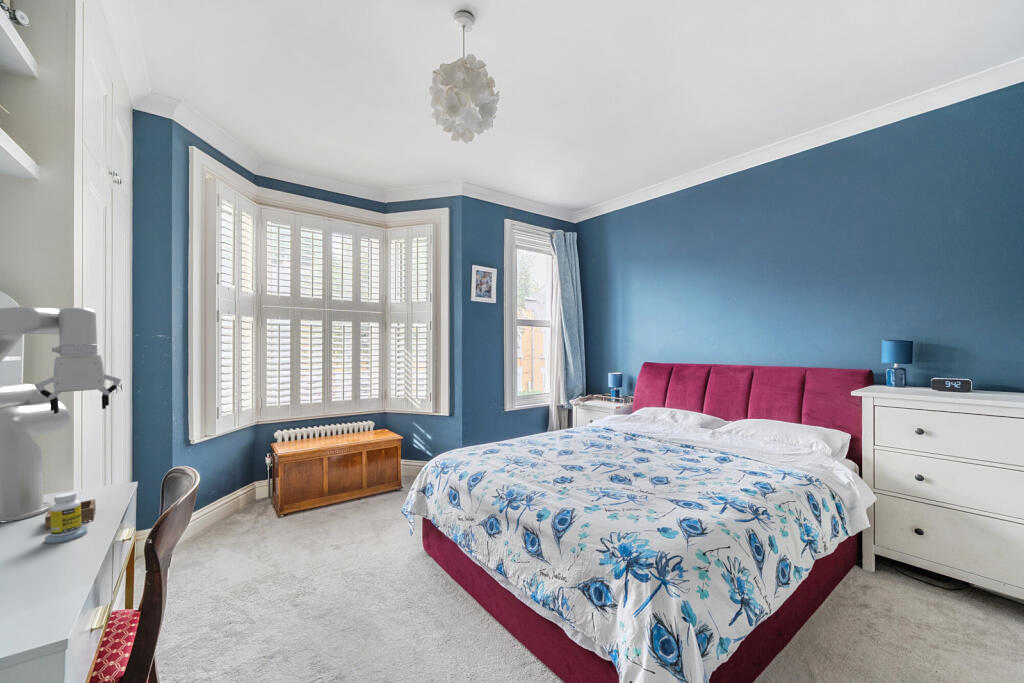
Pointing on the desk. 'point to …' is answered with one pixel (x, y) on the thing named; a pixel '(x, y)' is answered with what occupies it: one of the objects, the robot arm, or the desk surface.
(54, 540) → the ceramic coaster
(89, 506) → the walnut holder
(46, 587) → the desk surface
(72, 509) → the supplement bottle
